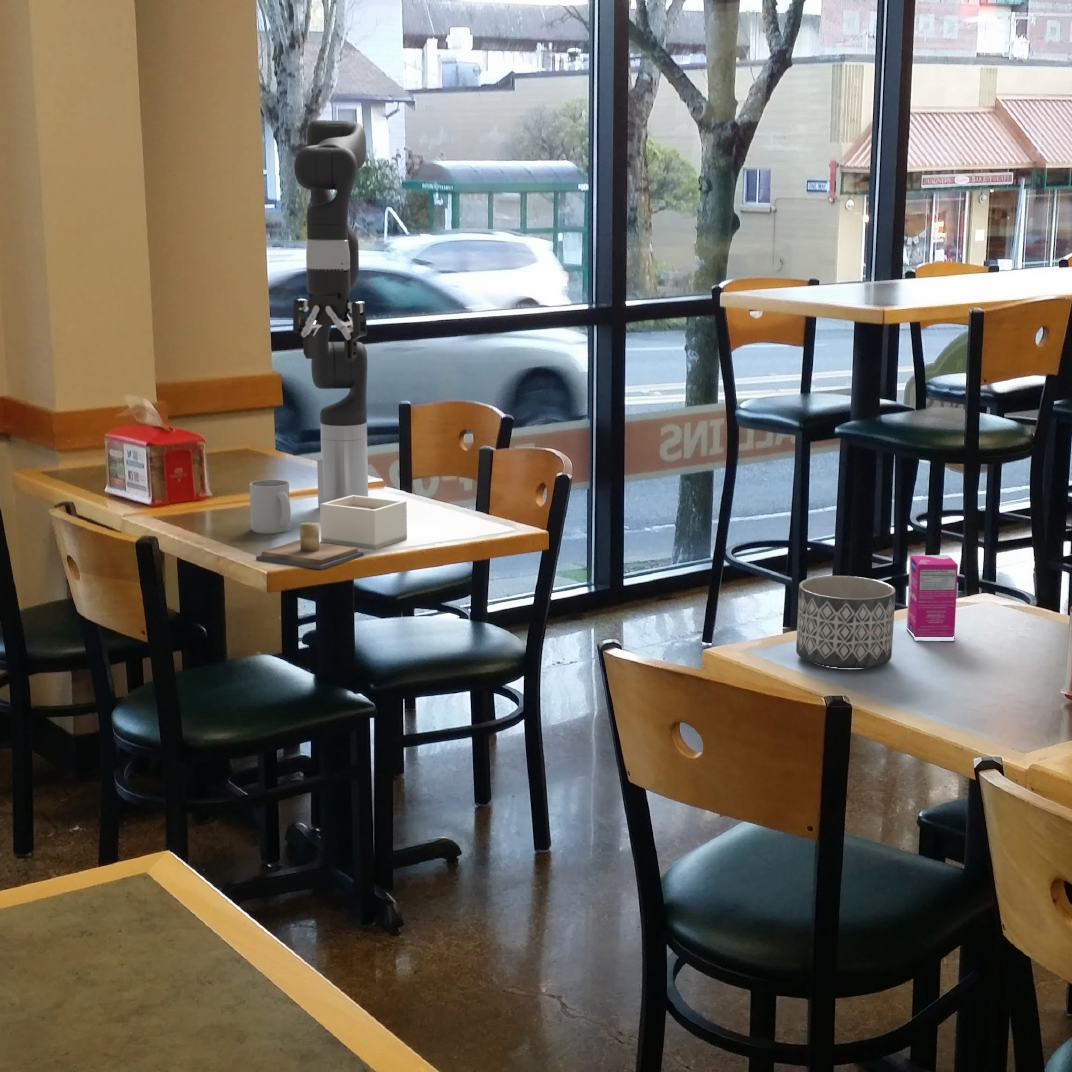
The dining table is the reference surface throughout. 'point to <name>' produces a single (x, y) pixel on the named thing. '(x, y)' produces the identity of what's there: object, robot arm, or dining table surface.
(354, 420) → the robot arm
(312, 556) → the lid
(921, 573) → the supplement box
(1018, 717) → the dining table surface
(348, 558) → the mat
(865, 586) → the planter
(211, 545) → the dining table surface
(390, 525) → the tea box
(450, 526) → the dining table surface
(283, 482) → the cup
